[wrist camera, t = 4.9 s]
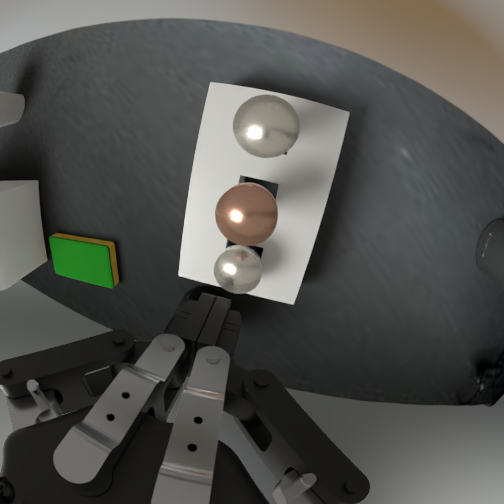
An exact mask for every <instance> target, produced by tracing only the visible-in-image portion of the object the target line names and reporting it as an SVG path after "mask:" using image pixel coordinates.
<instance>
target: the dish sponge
mask: <svg viewBox="0 0 504 504" xmlns="http://www.w3.org/2000/svg"><path fill="white" fill-rule="evenodd" d="M49 241H50V247H51V253H52V258H53V263H54V268H55V272H56V273H57V274H59V275H62V276H66V277H69V278H73V279H77V280H80V281H84V282H88V283H92V284H95V285H99V286H103V287H107V288H111V289H112V288H113V287H114V286H115V285H116V284H117V283H118V282H119V276H118V269H117V261H116V251H115V244H114V243H113V242H111V241H104V240H98V239H92V238H85V237H79V236H73V235H67V234H61V233H56V234H54V235H52V236H50V237H49Z"/></svg>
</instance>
